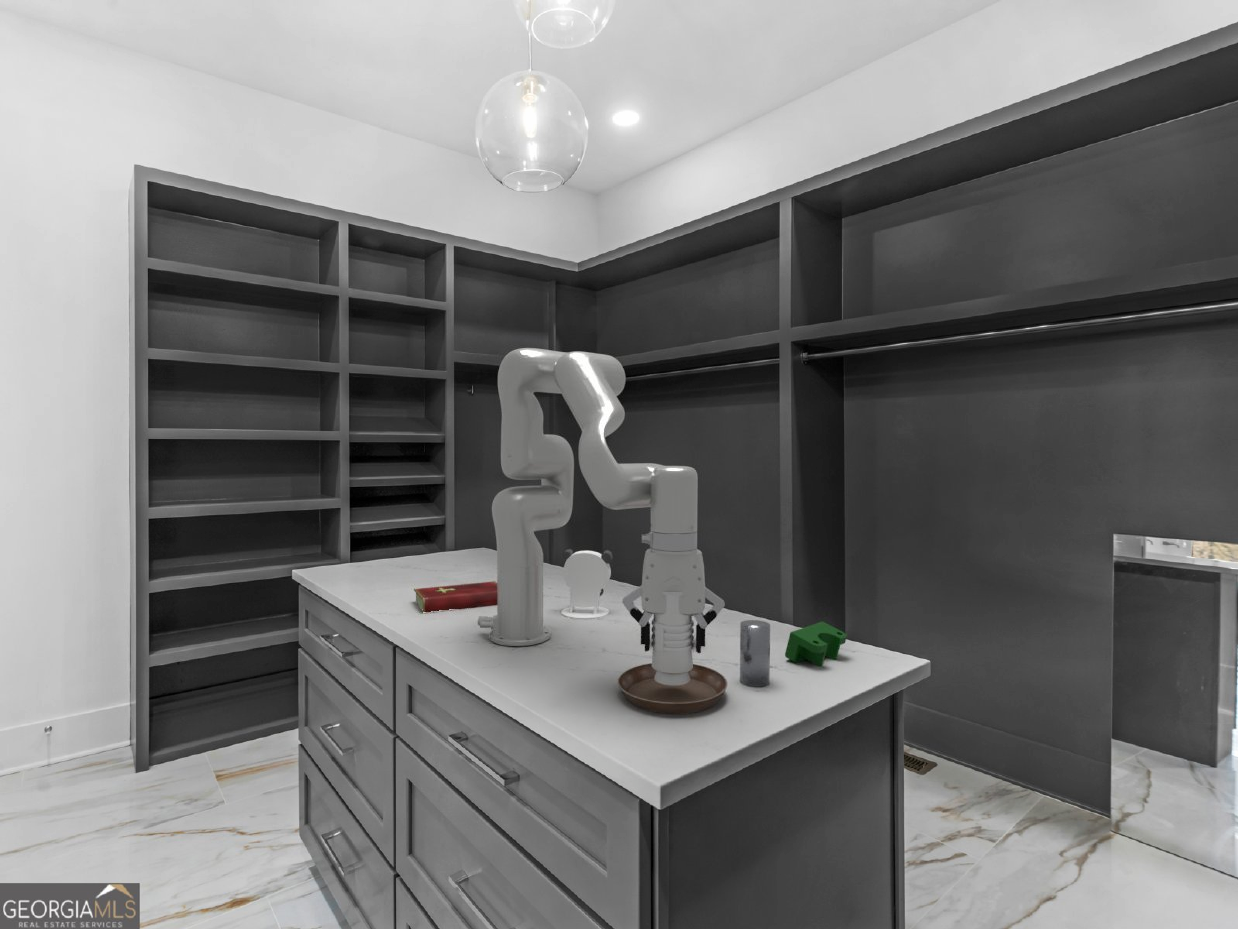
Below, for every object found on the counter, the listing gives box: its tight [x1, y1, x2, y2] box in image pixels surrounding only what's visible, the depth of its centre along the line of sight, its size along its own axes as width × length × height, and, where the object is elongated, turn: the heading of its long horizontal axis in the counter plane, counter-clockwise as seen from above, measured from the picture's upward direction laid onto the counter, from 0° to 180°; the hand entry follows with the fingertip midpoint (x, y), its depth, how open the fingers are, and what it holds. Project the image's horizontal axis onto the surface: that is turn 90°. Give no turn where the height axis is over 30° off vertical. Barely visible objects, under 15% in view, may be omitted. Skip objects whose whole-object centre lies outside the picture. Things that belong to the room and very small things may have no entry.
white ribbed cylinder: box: [650, 591, 695, 685], centre depth 106 cm, size 7×7×15 cm
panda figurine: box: [561, 548, 614, 620], centre depth 155 cm, size 12×11×15 cm
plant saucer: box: [617, 662, 728, 715], centre depth 105 cm, size 18×18×3 cm
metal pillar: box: [739, 619, 771, 688], centre depth 111 cm, size 5×5×10 cm
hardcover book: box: [413, 580, 497, 613], centre depth 164 cm, size 12×21×4 cm, turn 117°
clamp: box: [784, 621, 848, 667], centre depth 123 cm, size 12×6×9 cm, turn 125°
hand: (672, 649), depth 106 cm, fingers open, 7 cm apart
